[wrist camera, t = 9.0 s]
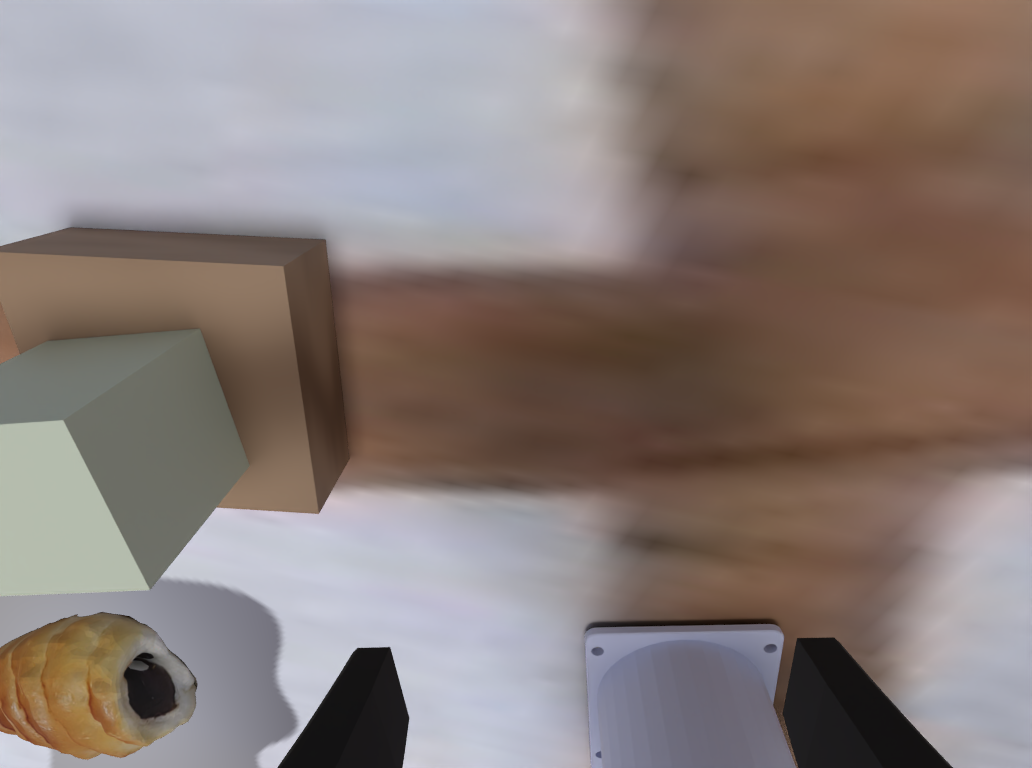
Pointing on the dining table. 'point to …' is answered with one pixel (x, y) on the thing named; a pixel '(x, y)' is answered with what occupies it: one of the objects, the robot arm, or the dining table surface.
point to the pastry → (93, 686)
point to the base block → (207, 334)
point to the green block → (109, 460)
